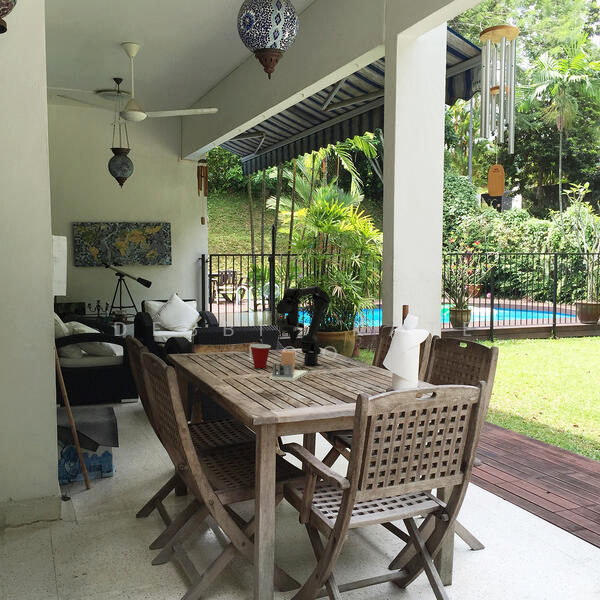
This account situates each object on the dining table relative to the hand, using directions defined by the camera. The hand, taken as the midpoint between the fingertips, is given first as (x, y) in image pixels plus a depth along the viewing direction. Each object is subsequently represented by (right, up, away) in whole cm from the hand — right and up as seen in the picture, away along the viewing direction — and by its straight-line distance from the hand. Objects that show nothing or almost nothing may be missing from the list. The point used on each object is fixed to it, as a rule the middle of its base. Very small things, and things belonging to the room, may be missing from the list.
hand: (292, 343), depth 327 cm
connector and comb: (-4, -13, -25) cm, 29 cm away
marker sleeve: (-2, -13, -20) cm, 24 cm away
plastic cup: (-17, -13, +5) cm, 22 cm away
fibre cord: (-2, -12, -20) cm, 23 cm away
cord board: (-2, -15, -19) cm, 24 cm away
